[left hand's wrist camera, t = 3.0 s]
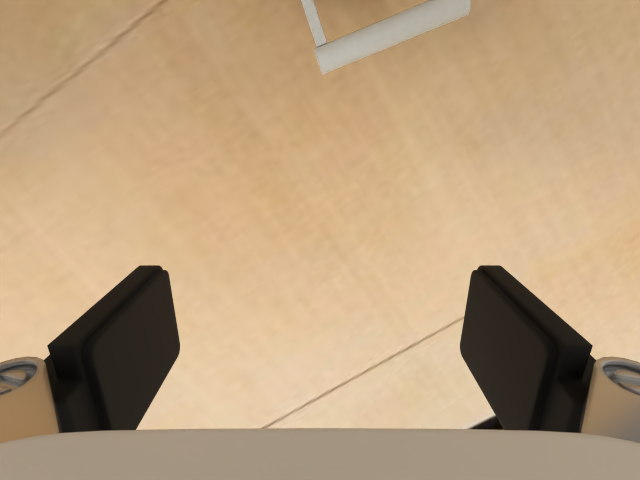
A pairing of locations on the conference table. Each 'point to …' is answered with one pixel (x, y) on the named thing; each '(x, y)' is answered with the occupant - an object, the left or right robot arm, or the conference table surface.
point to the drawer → (381, 31)
